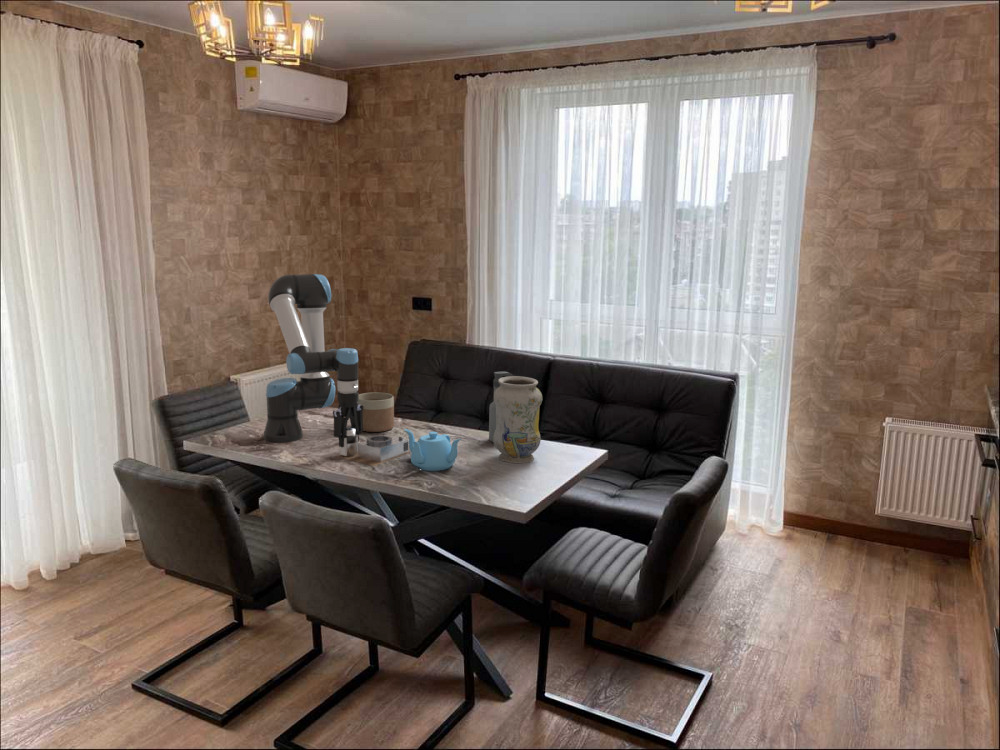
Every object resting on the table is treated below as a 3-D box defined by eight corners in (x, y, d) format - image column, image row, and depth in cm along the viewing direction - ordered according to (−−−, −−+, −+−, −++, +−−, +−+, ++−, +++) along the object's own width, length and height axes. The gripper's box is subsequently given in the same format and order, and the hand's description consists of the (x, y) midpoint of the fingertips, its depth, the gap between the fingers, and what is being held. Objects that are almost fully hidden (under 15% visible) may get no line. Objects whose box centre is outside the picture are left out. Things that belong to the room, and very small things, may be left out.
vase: (545, 465, 274) (547, 384, 268) (496, 466, 271) (498, 385, 265) (534, 450, 291) (537, 374, 285) (489, 452, 288) (490, 375, 282)
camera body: (357, 456, 275) (357, 439, 274) (385, 447, 288) (385, 430, 286) (380, 462, 269) (380, 444, 268) (408, 452, 282) (408, 435, 280)
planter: (390, 433, 311) (390, 401, 309) (352, 432, 311) (351, 400, 309) (396, 423, 327) (396, 392, 324) (360, 422, 327) (359, 391, 324)
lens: (339, 455, 276) (338, 428, 274) (349, 452, 280) (348, 425, 278) (349, 457, 273) (348, 430, 272) (359, 454, 278) (358, 427, 276)
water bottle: (507, 436, 311) (508, 369, 306) (518, 442, 302) (519, 373, 297) (485, 438, 307) (486, 371, 301) (495, 444, 298) (496, 375, 293)
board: (335, 459, 276) (335, 456, 275) (373, 446, 292) (373, 443, 292) (374, 469, 265) (373, 465, 265) (410, 455, 282) (410, 452, 281)
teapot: (412, 475, 260) (412, 441, 258) (404, 459, 277) (404, 427, 275) (460, 471, 264) (461, 438, 262) (450, 456, 282) (450, 424, 280)
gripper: (337, 397, 263) (338, 460, 267) (372, 388, 278) (373, 449, 282) (322, 394, 267) (323, 457, 271) (358, 385, 282) (359, 445, 286)
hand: (349, 453), depth 277 cm, fingers closed on lens, 5 cm apart
